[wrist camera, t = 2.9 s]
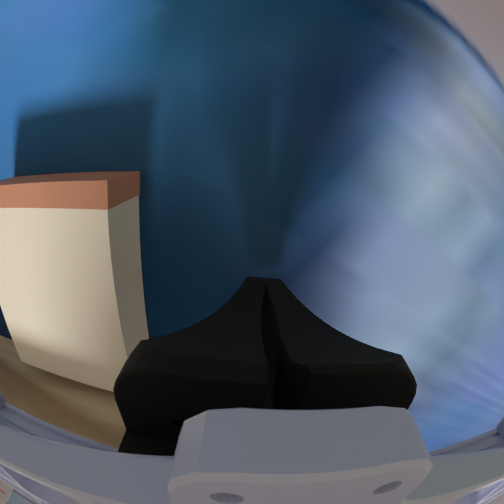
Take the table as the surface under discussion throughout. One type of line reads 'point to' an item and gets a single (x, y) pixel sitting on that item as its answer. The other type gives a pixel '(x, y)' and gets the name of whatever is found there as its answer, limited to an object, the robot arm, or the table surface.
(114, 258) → the book
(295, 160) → the table surface
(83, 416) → the shelf wall
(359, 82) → the table surface
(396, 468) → the robot arm
